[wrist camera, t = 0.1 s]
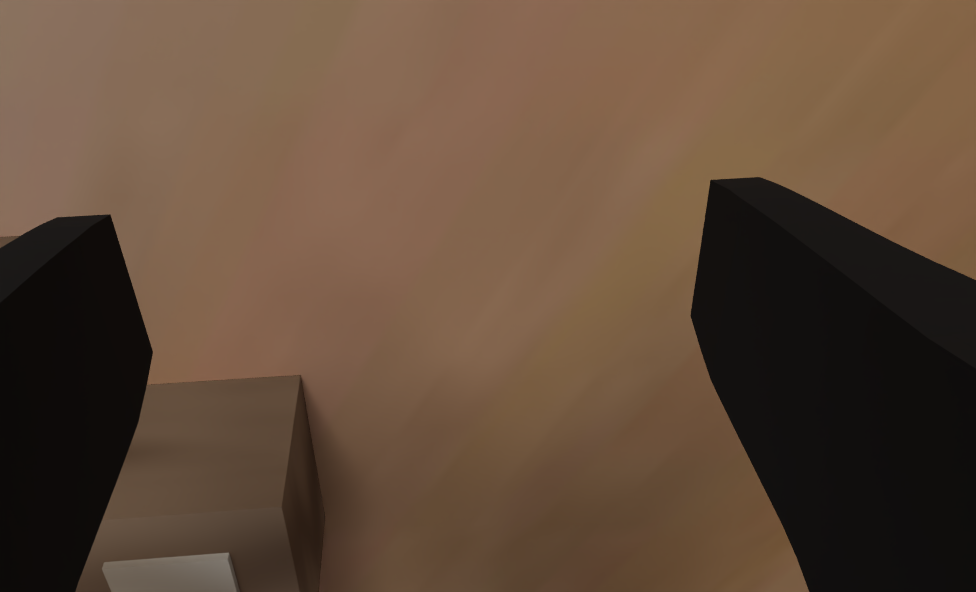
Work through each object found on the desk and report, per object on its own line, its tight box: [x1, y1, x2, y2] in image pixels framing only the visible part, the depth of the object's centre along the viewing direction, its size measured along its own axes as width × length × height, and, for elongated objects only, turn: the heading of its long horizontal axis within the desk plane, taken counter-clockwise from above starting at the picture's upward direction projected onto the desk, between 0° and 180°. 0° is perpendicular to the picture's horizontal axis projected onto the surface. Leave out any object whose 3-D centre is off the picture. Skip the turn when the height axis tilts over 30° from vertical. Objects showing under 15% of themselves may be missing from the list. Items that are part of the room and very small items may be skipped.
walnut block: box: [75, 375, 325, 592], centre depth 24 cm, size 6×6×5 cm
